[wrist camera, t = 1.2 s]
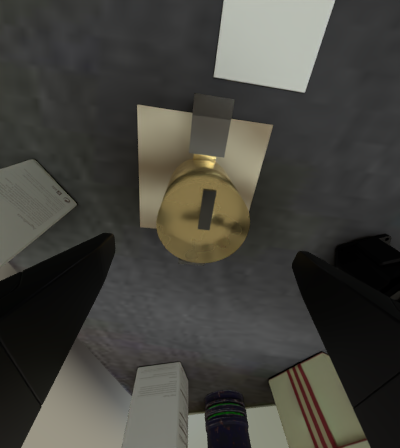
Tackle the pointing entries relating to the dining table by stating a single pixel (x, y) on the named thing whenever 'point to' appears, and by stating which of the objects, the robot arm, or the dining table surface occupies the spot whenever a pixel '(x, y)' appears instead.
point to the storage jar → (226, 420)
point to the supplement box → (158, 408)
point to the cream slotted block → (196, 149)
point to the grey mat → (271, 41)
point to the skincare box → (28, 206)
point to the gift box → (316, 407)
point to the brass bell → (202, 212)
